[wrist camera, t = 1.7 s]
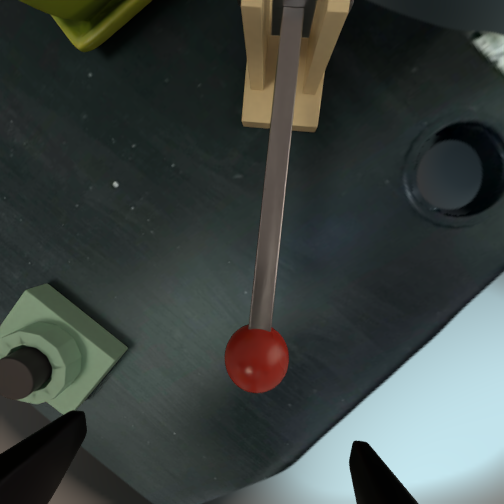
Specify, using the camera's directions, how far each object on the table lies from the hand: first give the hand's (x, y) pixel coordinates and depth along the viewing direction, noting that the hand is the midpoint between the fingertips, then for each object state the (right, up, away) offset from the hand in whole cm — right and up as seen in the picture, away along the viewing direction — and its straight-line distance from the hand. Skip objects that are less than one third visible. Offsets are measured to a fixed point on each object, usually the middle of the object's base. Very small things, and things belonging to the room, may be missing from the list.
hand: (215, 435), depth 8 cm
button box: (-17, -3, +16) cm, 24 cm away
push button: (-18, -4, +13) cm, 22 cm away
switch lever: (+3, +10, +6) cm, 12 cm away
